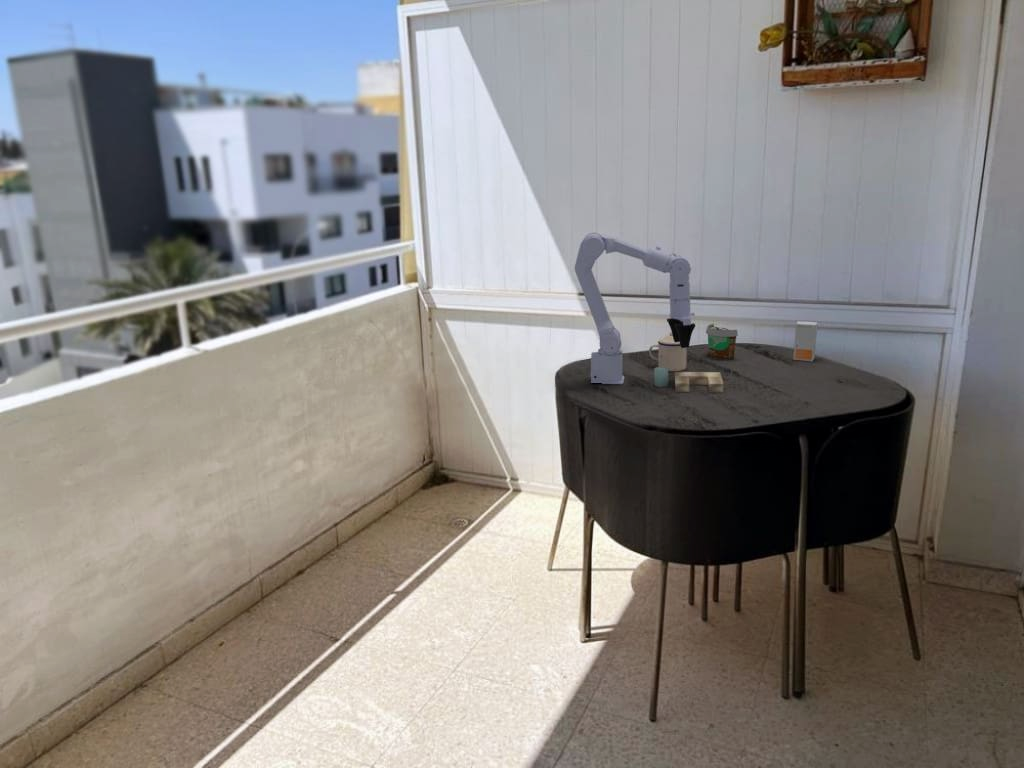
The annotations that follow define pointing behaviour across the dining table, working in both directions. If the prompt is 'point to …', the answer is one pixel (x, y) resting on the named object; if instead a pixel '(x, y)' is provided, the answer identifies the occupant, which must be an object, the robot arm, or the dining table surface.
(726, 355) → the food container
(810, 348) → the skincare box
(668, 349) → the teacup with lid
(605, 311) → the robot arm
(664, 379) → the teal peg
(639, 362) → the dining table surface
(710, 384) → the notched board
